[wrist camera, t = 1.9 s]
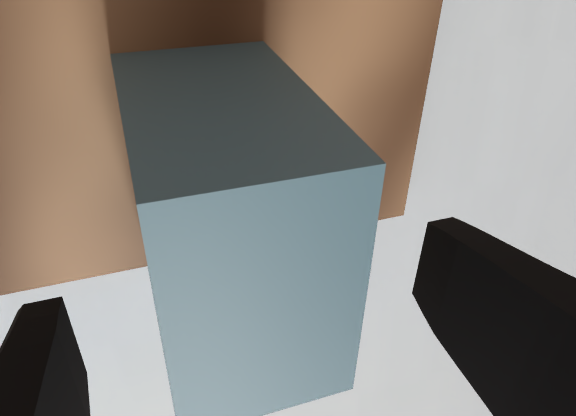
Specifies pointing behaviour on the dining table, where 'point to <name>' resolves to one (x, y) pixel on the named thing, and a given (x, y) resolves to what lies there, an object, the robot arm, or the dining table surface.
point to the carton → (248, 225)
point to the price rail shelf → (108, 125)
